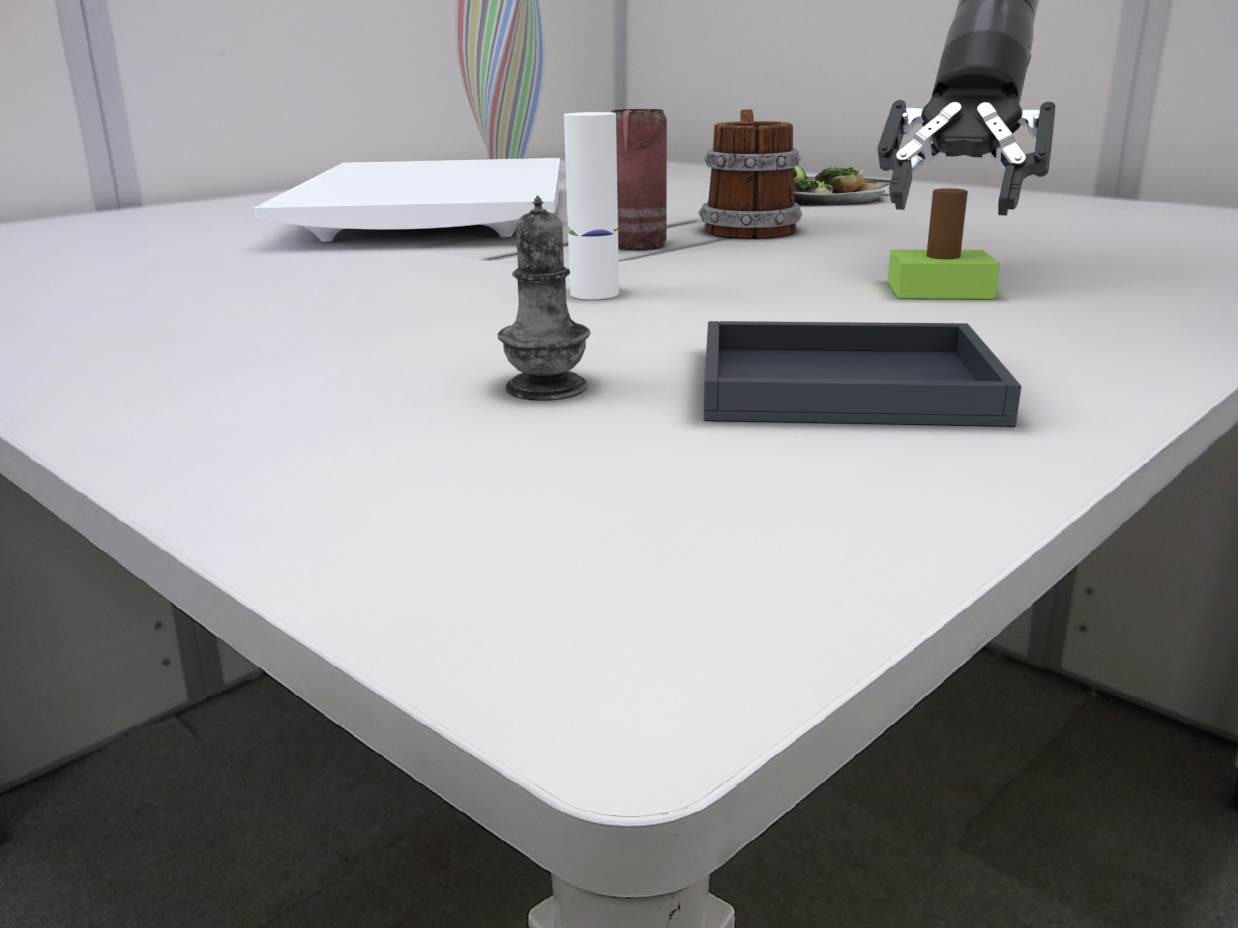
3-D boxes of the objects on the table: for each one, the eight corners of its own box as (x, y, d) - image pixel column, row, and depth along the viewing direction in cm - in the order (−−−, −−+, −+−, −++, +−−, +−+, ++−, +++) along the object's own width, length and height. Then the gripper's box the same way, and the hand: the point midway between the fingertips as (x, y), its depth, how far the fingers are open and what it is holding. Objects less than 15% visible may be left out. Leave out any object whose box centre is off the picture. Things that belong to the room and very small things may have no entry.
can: (603, 250, 108) (600, 111, 102) (617, 239, 113) (615, 107, 108) (659, 251, 106) (659, 111, 101) (671, 240, 112) (671, 107, 107)
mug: (701, 238, 111) (702, 95, 108) (694, 238, 125) (695, 111, 122) (808, 237, 111) (812, 93, 107) (789, 237, 125) (792, 110, 121)
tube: (587, 286, 92) (582, 111, 86) (627, 291, 89) (625, 112, 84) (560, 296, 88) (553, 115, 82) (602, 301, 86) (598, 116, 80)
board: (556, 245, 110) (554, 201, 109) (259, 252, 110) (252, 208, 108) (561, 190, 152) (560, 158, 150) (346, 195, 151) (342, 162, 149)
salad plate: (885, 187, 149) (888, 154, 148) (912, 204, 133) (916, 168, 131) (754, 188, 150) (755, 156, 149) (765, 206, 134) (766, 170, 132)
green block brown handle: (978, 283, 90) (990, 185, 87) (995, 299, 85) (1008, 195, 81) (887, 283, 91) (895, 186, 88) (898, 298, 85) (907, 195, 82)
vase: (555, 174, 171) (547, -22, 159) (542, 184, 159) (532, -27, 147) (477, 174, 172) (463, -20, 161) (457, 185, 160) (442, -25, 148)
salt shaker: (481, 387, 65) (468, 196, 60) (550, 367, 69) (543, 186, 64) (541, 408, 61) (531, 205, 56) (611, 385, 65) (607, 194, 60)
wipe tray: (963, 357, 69) (968, 323, 68) (1016, 426, 57) (1022, 385, 56) (707, 354, 71) (708, 320, 70) (703, 420, 59) (704, 381, 58)
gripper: (901, 29, 91) (861, 175, 86) (1073, 25, 85) (1041, 182, 80) (907, 89, 97) (870, 228, 92) (1067, 90, 91) (1037, 238, 86)
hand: (949, 207), depth 86 cm, fingers open, 8 cm apart
